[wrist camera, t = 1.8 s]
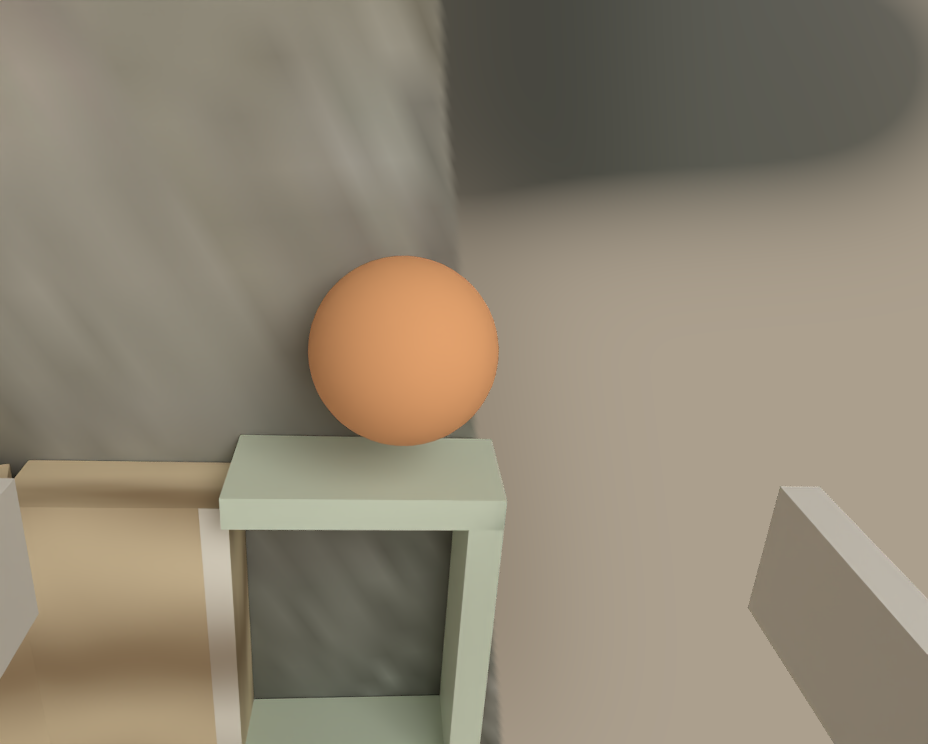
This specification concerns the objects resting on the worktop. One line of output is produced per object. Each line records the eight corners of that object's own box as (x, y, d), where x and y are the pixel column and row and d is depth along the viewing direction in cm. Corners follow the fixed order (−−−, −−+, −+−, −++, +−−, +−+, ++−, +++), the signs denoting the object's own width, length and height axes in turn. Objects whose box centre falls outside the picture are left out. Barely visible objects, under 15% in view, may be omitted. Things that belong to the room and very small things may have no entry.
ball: (315, 230, 22) (297, 287, 17) (493, 238, 22) (521, 296, 18) (316, 392, 24) (300, 481, 19) (479, 396, 24) (501, 483, 20)
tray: (240, 434, 24) (218, 498, 21) (491, 439, 25) (507, 500, 22) (254, 719, 29) (239, 805, 26) (464, 714, 30) (473, 797, 27)
